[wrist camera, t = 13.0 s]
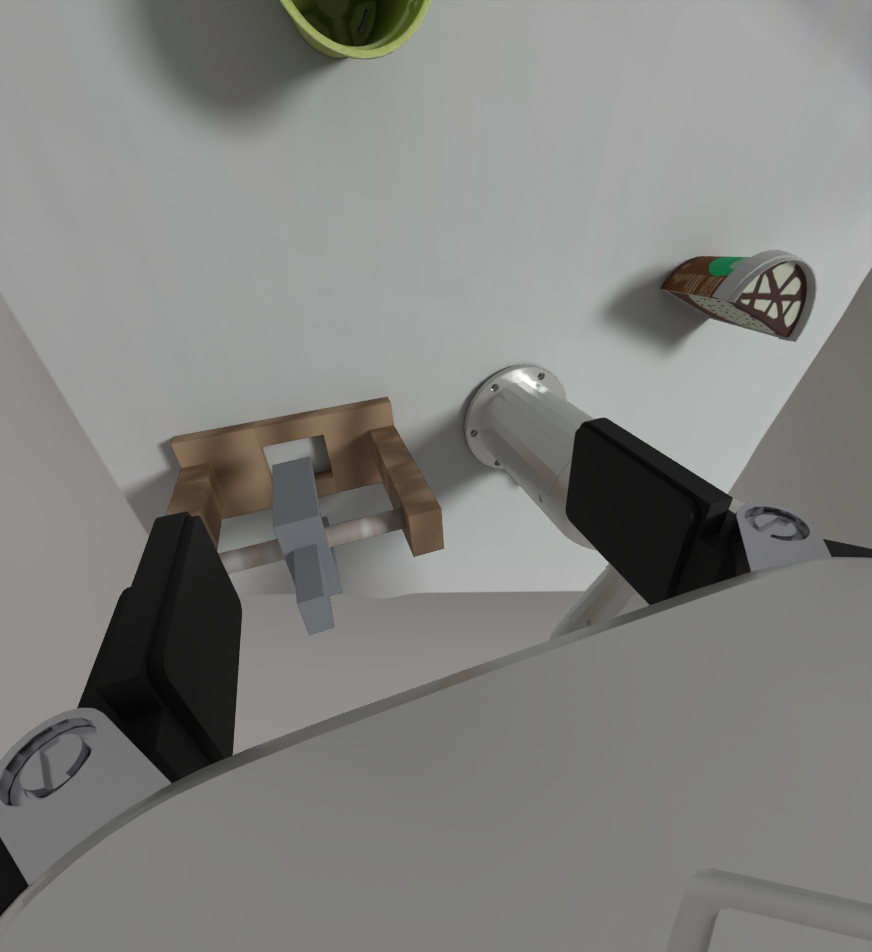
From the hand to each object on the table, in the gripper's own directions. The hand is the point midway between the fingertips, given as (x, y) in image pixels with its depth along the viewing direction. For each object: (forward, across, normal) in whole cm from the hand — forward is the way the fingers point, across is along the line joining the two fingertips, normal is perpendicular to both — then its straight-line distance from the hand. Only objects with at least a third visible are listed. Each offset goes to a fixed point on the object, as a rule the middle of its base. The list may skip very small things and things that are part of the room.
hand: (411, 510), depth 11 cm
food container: (+32, -43, +3) cm, 54 cm away
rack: (+32, +5, +15) cm, 36 cm away
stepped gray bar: (+24, +5, +15) cm, 29 cm away
